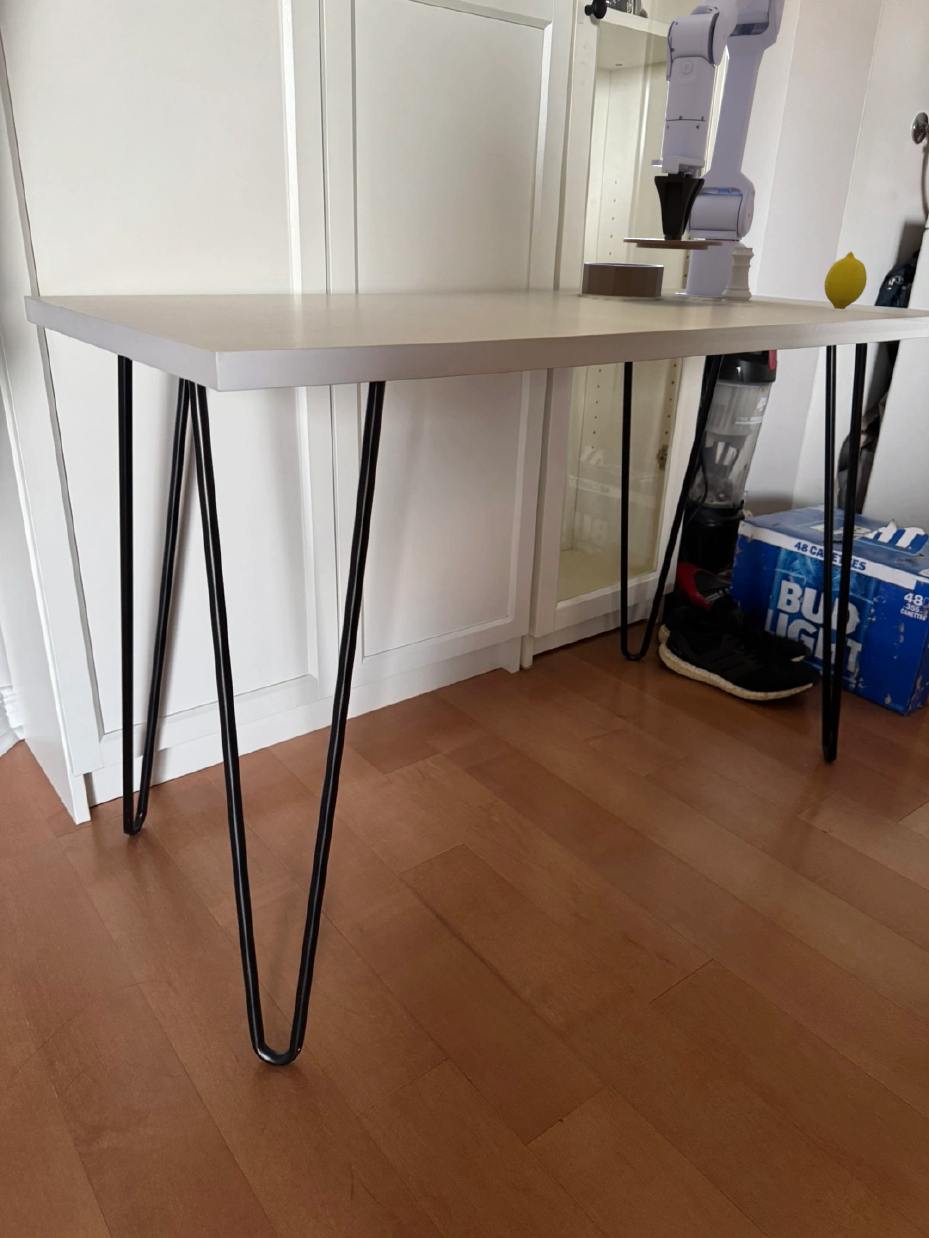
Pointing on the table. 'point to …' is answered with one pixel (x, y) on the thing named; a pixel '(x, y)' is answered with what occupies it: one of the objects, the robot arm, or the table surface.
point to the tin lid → (673, 242)
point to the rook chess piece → (739, 277)
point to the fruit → (845, 281)
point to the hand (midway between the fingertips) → (673, 235)
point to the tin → (622, 279)
